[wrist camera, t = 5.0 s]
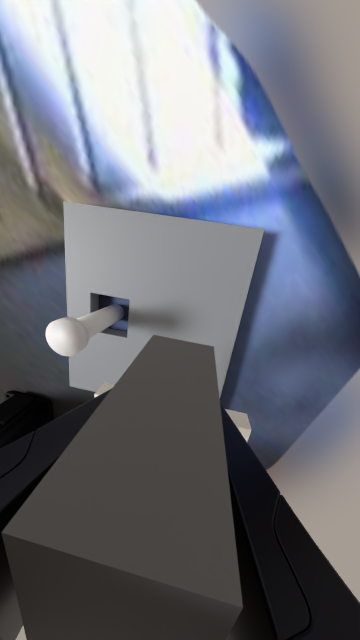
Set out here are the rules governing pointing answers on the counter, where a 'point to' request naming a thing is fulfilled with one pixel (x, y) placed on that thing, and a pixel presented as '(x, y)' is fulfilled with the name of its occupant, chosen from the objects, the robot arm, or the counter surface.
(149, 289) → the hook board
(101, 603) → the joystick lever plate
